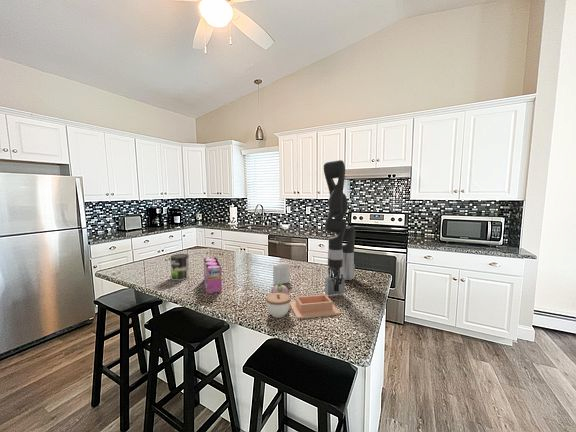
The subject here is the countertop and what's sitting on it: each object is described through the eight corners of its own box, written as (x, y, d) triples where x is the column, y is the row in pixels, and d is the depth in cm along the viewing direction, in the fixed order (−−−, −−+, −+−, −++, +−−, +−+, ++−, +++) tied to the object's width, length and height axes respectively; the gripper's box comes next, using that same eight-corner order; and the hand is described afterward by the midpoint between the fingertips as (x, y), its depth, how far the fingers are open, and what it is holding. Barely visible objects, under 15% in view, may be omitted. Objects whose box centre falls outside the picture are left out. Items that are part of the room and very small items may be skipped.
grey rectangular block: (341, 290, 137) (341, 276, 136) (344, 293, 133) (344, 278, 132) (325, 292, 135) (325, 277, 134) (328, 295, 131) (328, 280, 130)
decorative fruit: (291, 306, 121) (291, 285, 120) (274, 308, 119) (274, 287, 118) (285, 298, 130) (285, 279, 129) (269, 300, 128) (269, 280, 127)
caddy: (288, 303, 124) (288, 294, 124) (327, 299, 129) (327, 291, 128) (297, 319, 109) (297, 309, 108) (340, 314, 113) (341, 304, 113)
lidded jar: (270, 322, 106) (270, 300, 105) (262, 311, 116) (262, 291, 115) (294, 317, 110) (294, 296, 109) (284, 307, 120) (284, 287, 119)
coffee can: (180, 281, 154) (179, 258, 152) (167, 279, 157) (166, 256, 156) (192, 276, 163) (192, 254, 162) (180, 274, 167) (179, 253, 166)
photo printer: (286, 280, 157) (286, 260, 155) (290, 282, 153) (290, 262, 152) (272, 283, 151) (272, 263, 150) (275, 286, 147) (275, 264, 146)
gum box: (203, 279, 158) (203, 257, 157) (216, 277, 161) (216, 256, 160) (206, 293, 136) (206, 268, 135) (222, 291, 139) (221, 267, 138)
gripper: (348, 260, 126) (347, 294, 128) (336, 253, 140) (335, 284, 141) (334, 261, 124) (333, 295, 126) (323, 254, 138) (323, 285, 140)
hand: (334, 289), depth 134 cm, fingers closed on grey rectangular block, 4 cm apart
